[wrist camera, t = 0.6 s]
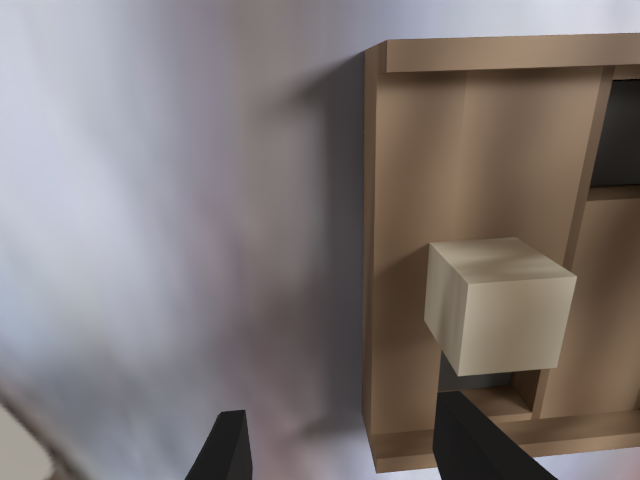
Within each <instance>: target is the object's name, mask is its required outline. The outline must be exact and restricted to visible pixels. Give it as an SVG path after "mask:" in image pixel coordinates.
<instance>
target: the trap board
mask: <svg viewBox="0 0 640 480" xmlns="http://www.w3.org/2000/svg"><path fill="white" fill-rule="evenodd" d="M616 79H640V33H615V34H579V35H542V36H506V37H469V38H433V39H396V40H386V41H384V42H382V43H379V44H377V45H375V46H373V47H371V48H369V49H366V50H365V64H364V208H363V352H362V416H363V420H364V424H365V428H366V432H367V437H368V441H369V445H370V449H371V453H372V457H373V461H374V466H375V470H376V473H386V472H396V471H406V470H415V469H425V468H435V467H437V463H436V460H435V457H434V453H433V450H432V445H433V434H434V423H435V413H436V402H437V393H438V392H449V391H460V392H461V393H462V394H463V395H465V396H466V397H467V398H468V399H469V400H470V401H471V402H472V403H473V404H474V405H475V406H476V407H477V408H478V409H479V410H480V411H481V412H483V413H484V414H485V415H486V416H487V417H488V418H489V419H490V420H491V421H492V422H493V423H494V424H495V425H496V426H497V427H498V428H500V429H501V430H502V431H503V432H504V433H505V434H506V435H507V436H508V437H509V438H510V439H511V440H513V441H514V442H515V443H516V444H517V445H518V446H519V447H520V448H522V449H523V450H524V451H525V452H526V453H527V454H528V455H530V456H531V457H532V458H533V457H542V456H552V455H562V454H572V453H581V452H591V451H601V450H611V449H620V448H630V447H640V81H613V82H612V80H616ZM511 237H517V238H518V239H520V240H521V241H523V242H524V243H526V244H528V245H529V246H531V247H532V248H534V249H535V250H537V251H538V252H540V253H542V254H543V255H545V256H546V257H548V258H549V259H551V260H552V261H554V262H556V263H557V264H559V265H560V266H562V267H563V268H565V269H567V270H568V271H570V272H571V273H573V274H574V275H576V276H577V279H576V284H575V288H574V293H573V297H572V302H571V306H570V311H569V315H568V320H567V324H566V329H565V333H564V338H563V342H562V347H561V351H560V356H559V360H558V365H557V368H548V369H537V370H525V371H514V372H502V373H491V374H479V375H468V376H457V374H456V372H455V371H454V369H453V367H452V366H451V364H450V362H449V361H448V359H447V357H446V356H445V354H444V352H443V351H442V349H441V347H440V346H439V344H438V342H437V341H436V339H435V337H434V336H433V334H432V333H431V331H430V329H429V328H428V326H427V324H426V323H425V321H424V313H425V299H426V285H427V271H428V257H429V243H432V242H448V241H464V240H480V239H496V238H511Z"/></svg>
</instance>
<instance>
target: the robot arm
mask: <svg viewBox="0 0 640 480" xmlns="http://www.w3.org/2000/svg"><path fill="white" fill-rule="evenodd" d="M432 450H433V453H434V457H435V460H436V463H437V467H438V470H439V473H440V476H441V479H442V480H558V479H557V478H555V477H554V476H553V475H552V474H551V473H549V472H548V471H547V470H546V469H545V468H543V467H542V466H541V465H540V464H539V463H538V462H536V461H535V460H534V459H533V458H532V457H531V456H530V455H528V454H527V453H526V452H525V451H524V450H523V449H522V448H520V447H519V446H518V445H517V444H516V443H515V442H514V441H513V440H511V439H510V438H509V437H508V436H507V435H506V434H505V433H504V432H503V431H502V430H501V429H500V428H498V427H497V426H496V425H495V424H494V423H493V422H492V421H491V420H490V419H489V418H488V417H487V416H486V415H485V414H484V413H483V412H481V411H480V410H479V409H478V408H477V407H476V406H475V405H474V404H473V403H472V402H471V401H470V400H469V399H468V398H467V397H466V396H465V395H463V394H462V393H461V392H460V391H449V392H438V393H437V402H436V413H435V423H434V434H433V445H432ZM252 468H253V466H252V459H251V451H250V443H249V435H248V428H247V420H246V412H245V410H237V411H226V412H221V413H220V414H219V415H218V417H217V419H216V421H215V423H214V426H213V428H212V430H211V432H210V434H209V436H208V438H207V440H206V442H205V444H204V446H203V448H202V450H201V451H200V453H199V455H198V457H197V459H196V461H195V463H194V464H193V466H192V468H191V469H190V471H189V473H188V475H187V476H186V478H185V480H252Z"/></svg>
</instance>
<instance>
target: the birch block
mask: <svg viewBox="0 0 640 480" xmlns="http://www.w3.org/2000/svg"><path fill="white" fill-rule="evenodd" d="M576 279H577V276H576V275H574V274H573V273H571V272H570V271H568V270H567V269H565V268H563V267H562V266H560V265H559V264H557V263H556V262H554V261H552V260H551V259H549V258H548V257H546V256H545V255H543V254H542V253H540V252H538V251H537V250H535V249H534V248H532V247H531V246H529V245H528V244H526V243H524V242H523V241H521V240H520V239H518V238H517V237H511V238H496V239H480V240H464V241H448V242H432V243H429V257H428V271H427V285H426V299H425V313H424V321H425V323H426V324H427V326H428V328H429V329H430V331H431V333H432V334H433V336H434V337H435V339H436V341H437V342H438V344H439V346H440V347H441V349H442V351H443V352H444V354H445V356H446V357H447V359H448V361H449V362H450V364H451V366H452V367H453V369H454V371H455V372H456V374H457V376H468V375H479V374H491V373H502V372H514V371H525V370H537V369H548V368H557V365H558V360H559V356H560V351H561V347H562V342H563V338H564V333H565V329H566V324H567V320H568V315H569V311H570V306H571V302H572V297H573V293H574V288H575V284H576Z"/></svg>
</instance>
